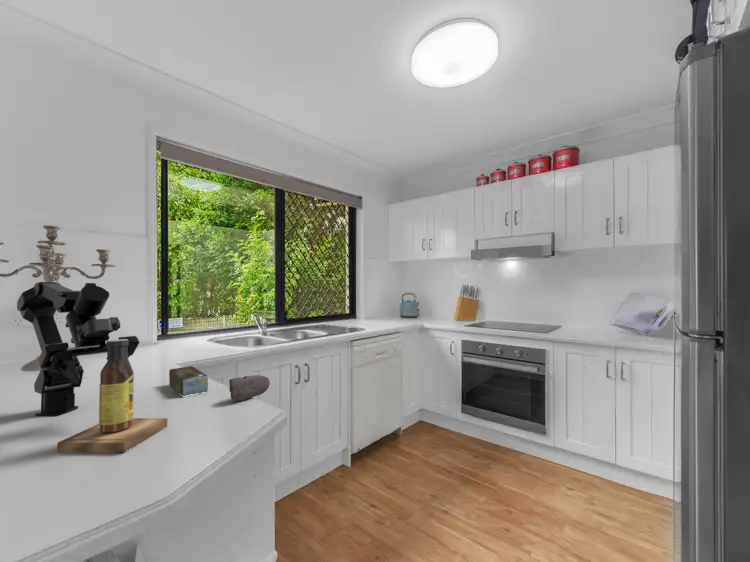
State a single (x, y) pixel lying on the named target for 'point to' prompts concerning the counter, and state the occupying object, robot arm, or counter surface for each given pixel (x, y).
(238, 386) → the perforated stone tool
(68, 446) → the podium
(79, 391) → the counter surface
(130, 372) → the sauce bottle
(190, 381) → the beverage carton
